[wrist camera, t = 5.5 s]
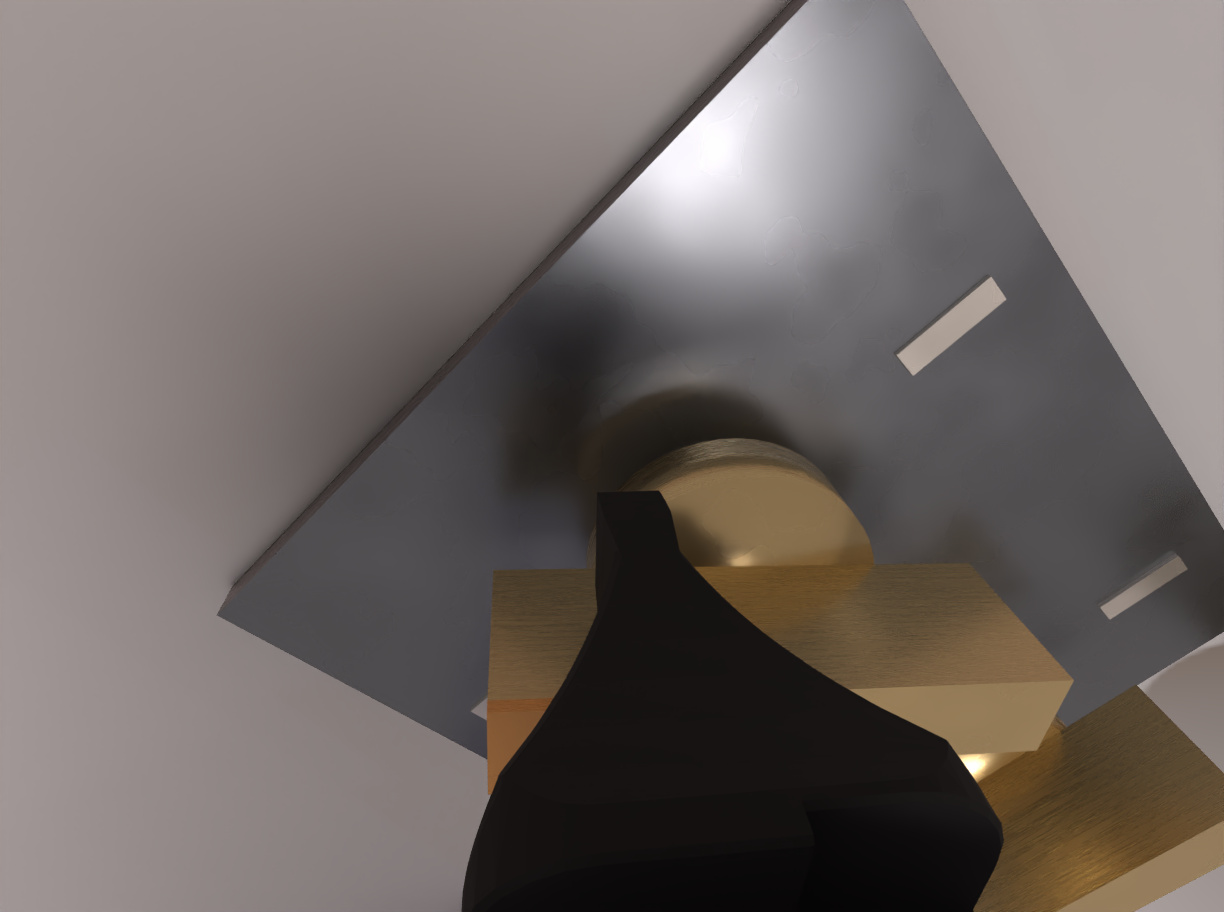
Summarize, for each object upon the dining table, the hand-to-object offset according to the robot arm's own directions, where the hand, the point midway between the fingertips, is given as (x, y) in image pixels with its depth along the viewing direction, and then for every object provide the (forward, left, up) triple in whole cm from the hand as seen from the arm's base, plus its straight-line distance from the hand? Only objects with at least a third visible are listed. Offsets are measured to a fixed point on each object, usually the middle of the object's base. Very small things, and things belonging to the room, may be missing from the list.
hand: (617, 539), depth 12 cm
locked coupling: (0, -15, -3) cm, 15 cm away
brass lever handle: (0, -4, -3) cm, 5 cm away
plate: (0, -8, -5) cm, 9 cm away
